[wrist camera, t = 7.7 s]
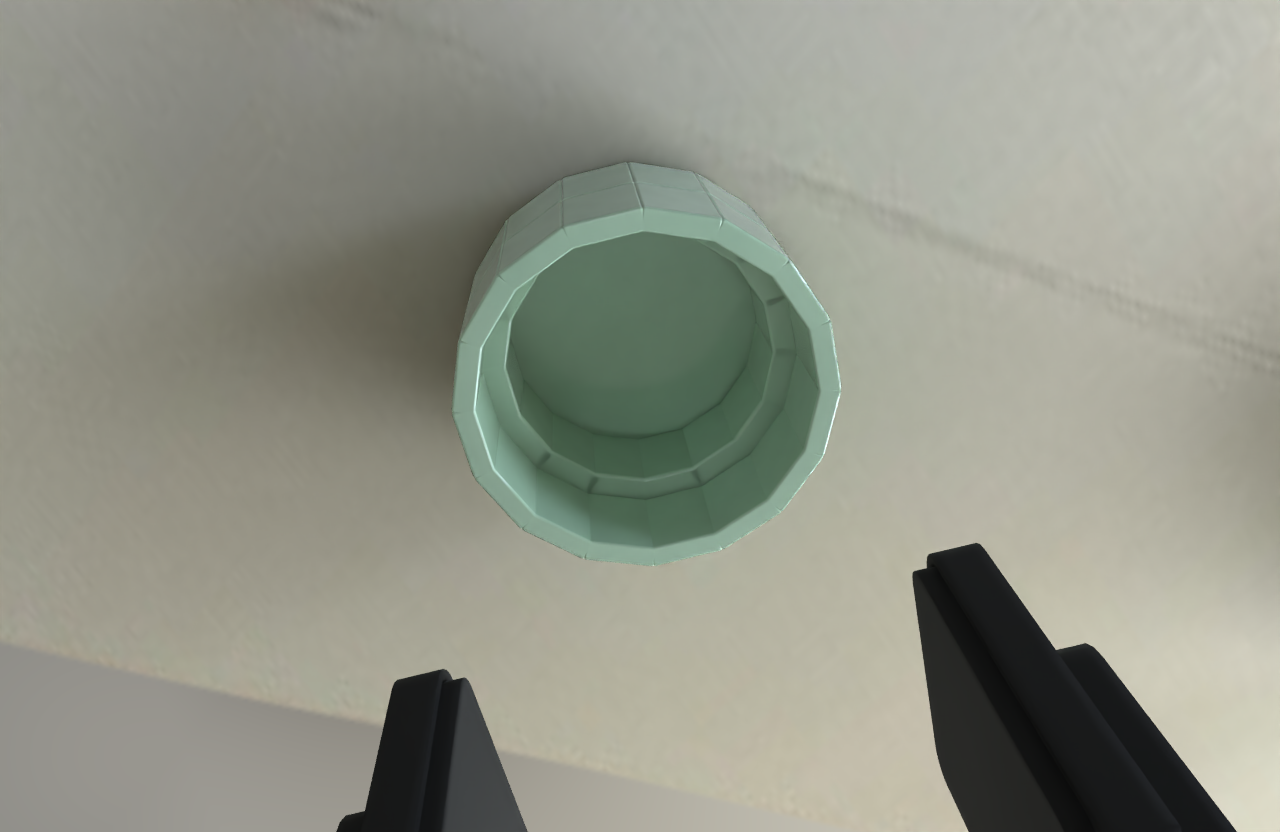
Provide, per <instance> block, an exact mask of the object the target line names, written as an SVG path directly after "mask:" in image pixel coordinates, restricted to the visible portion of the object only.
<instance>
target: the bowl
mask: <svg viewBox="0 0 1280 832" xmlns="http://www.w3.org/2000/svg"><path fill="white" fill-rule="evenodd" d="M840 394H841V380H840V374H839V368H838V361H837V355H836V349H835V343H834V336H833V330H832V324H831V321H830V320H829V316H828V314H827V313H826V311H825V310H824V309H823V307H822V306H821V304H820V303H819V301H818V300H817V298H816V297H815V295H814V294H813V292H812V291H811V289H810V288H809V286H808V285H807V283H806V282H805V280H804V279H803V277H802V276H801V274H800V273H799V271H798V270H797V268H796V267H795V265H794V264H793V262H792V261H791V260H790V258H789V257H788V256H787V254H786V253H785V252H784V250H783V249H782V248H781V246H780V245H779V243H778V242H777V241H776V239H775V238H774V237H773V235H772V234H771V233H770V231H769V230H768V229H767V227H766V226H765V225H764V223H763V222H762V221H761V219H760V218H759V217H758V215H757V214H756V213H755V211H754V210H753V209H751V207H750V206H749V205H748V204H746V203H744V202H743V201H741V200H740V199H738V198H736V197H735V196H733V195H732V194H730V193H728V192H727V191H725V190H724V189H722V188H720V187H719V186H717V185H716V184H714V183H712V182H711V181H709V180H708V179H706V178H704V177H703V176H701V175H700V174H697V173H696V174H695V173H694V172H692V171H686V170H679V169H673V168H666V167H660V166H653V165H647V164H640V163H634V162H630V163H627V162H624V163H620V164H616V165H612V166H608V167H604V168H600V169H596V170H592V171H588V172H584V173H580V174H576V175H572V176H568V177H564V178H563V179H562V180H558V181H557V182H555V183H554V184H553V185H551V186H550V187H549V188H547V189H546V190H545V191H543V192H542V193H541V194H539V195H538V196H537V197H535V198H534V199H533V200H531V201H530V202H529V203H527V204H526V205H525V206H523V207H522V208H521V209H519V210H518V211H517V212H515V213H514V214H513V215H511V216H510V217H509V218H508V220H506V221H505V223H504V224H503V226H502V228H501V230H500V231H499V233H498V235H497V237H496V238H495V240H494V242H493V244H492V245H491V247H490V249H489V251H488V252H487V254H486V256H485V258H484V259H483V261H482V263H481V265H480V266H479V268H478V270H477V272H476V273H475V277H474V280H473V284H472V288H471V292H470V296H469V300H468V304H467V308H466V312H465V316H464V320H463V324H462V328H461V332H460V336H459V340H458V345H457V356H456V366H455V376H454V386H453V397H452V407H451V410H452V417H453V419H454V422H455V425H456V428H457V431H458V434H459V437H460V440H461V442H462V445H463V448H464V451H465V454H466V457H467V460H468V463H469V466H470V468H471V471H472V474H473V476H474V477H475V479H476V481H477V482H478V483H479V484H480V485H481V486H482V487H483V488H484V490H485V491H486V492H487V493H488V494H489V495H490V496H491V497H492V498H493V499H494V500H495V501H496V503H497V504H498V505H499V506H500V507H501V508H502V509H503V510H504V511H505V512H506V513H507V514H508V516H509V517H510V518H511V519H512V520H513V521H514V522H515V523H516V524H517V525H518V526H519V527H520V528H522V529H523V530H524V531H526V532H528V533H530V534H532V535H534V536H536V537H538V538H540V539H542V540H545V541H547V542H549V543H551V544H553V545H555V546H557V547H559V548H561V549H563V550H565V551H567V552H570V553H572V554H574V555H576V556H578V557H580V558H584V559H586V560H596V561H606V562H616V563H626V564H636V565H646V566H653V565H655V566H657V565H661V564H666V563H670V562H674V561H678V560H682V559H687V558H691V557H695V556H699V555H703V554H708V553H712V552H716V551H720V550H721V549H725V548H726V547H728V546H729V545H731V544H733V543H734V542H736V541H737V540H739V539H740V538H742V537H744V536H745V535H747V534H748V533H750V532H751V531H753V530H754V529H756V528H758V527H759V526H761V525H762V524H764V523H765V522H767V521H769V520H770V519H772V518H773V517H775V516H776V515H778V514H779V513H780V512H781V511H783V510H784V508H785V507H786V506H787V504H788V503H789V502H790V501H791V499H792V498H793V497H794V495H795V494H796V493H797V491H798V490H799V489H800V487H801V486H802V485H803V483H804V482H805V481H806V479H807V478H808V477H809V475H810V474H811V473H812V471H813V470H814V469H815V467H816V466H817V465H818V463H819V462H820V461H821V459H822V458H823V455H824V454H825V450H826V446H827V443H828V439H829V435H830V431H831V428H832V424H833V420H834V416H835V413H836V409H837V405H838V401H839V398H840Z"/></svg>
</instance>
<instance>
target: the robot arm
mask: <svg viewBox="0 0 1280 832" xmlns="http://www.w3.org/2000/svg"><path fill="white" fill-rule="evenodd" d="M912 578H913V587H914V594H915V601H916V609H917V616H918V623H919V630H920V637H921V645H922V652H923V659H924V666H925V673H926V680H927V688H928V695H929V702H930V709H931V716H932V724H933V731H934V738H935V745H936V751H937V756H938V760H939V764H940V767H941V770H942V773H943V776H944V779H945V781H946V783H947V786H948V788H949V790H950V792H951V794H952V797H953V799H954V801H955V803H956V805H957V807H958V809H959V812H960V814H961V816H962V818H963V820H964V822H965V825H966V827H967V829H968V831H969V832H1237V831H1236V830H1235V829H1234V827H1233V826H1232V825H1231V823H1230V822H1229V821H1228V820H1227V818H1226V817H1225V816H1224V814H1223V813H1222V812H1221V810H1220V809H1219V808H1218V807H1217V805H1216V804H1215V803H1214V801H1213V800H1212V799H1211V797H1210V796H1209V795H1208V793H1207V792H1206V791H1205V790H1204V788H1203V787H1202V786H1201V784H1200V783H1199V782H1198V780H1197V779H1196V778H1195V777H1194V775H1193V774H1192V773H1191V771H1190V770H1189V769H1188V767H1187V766H1186V765H1185V763H1184V762H1183V761H1182V760H1181V758H1180V757H1179V756H1178V754H1177V753H1176V752H1175V750H1174V749H1173V748H1172V747H1171V745H1170V744H1169V743H1168V741H1167V740H1166V739H1165V737H1164V736H1163V735H1162V733H1161V732H1160V731H1159V730H1158V728H1157V727H1156V726H1155V724H1154V723H1153V722H1152V720H1151V719H1150V718H1149V717H1148V715H1147V714H1146V713H1145V711H1144V710H1143V709H1142V707H1141V706H1140V705H1139V703H1138V702H1137V701H1136V700H1135V698H1134V697H1133V696H1132V694H1131V693H1130V692H1129V690H1128V689H1127V688H1126V687H1125V685H1124V684H1123V683H1122V681H1121V680H1120V679H1119V677H1118V676H1117V675H1116V673H1115V672H1114V671H1113V670H1112V668H1111V667H1110V666H1109V664H1108V663H1107V662H1106V660H1105V659H1104V658H1103V657H1102V656H1101V654H1100V653H1099V652H1098V651H1097V650H1096V649H1095V648H1094V647H1092V646H1090V645H1088V644H1086V643H1085V644H1081V645H1076V646H1072V647H1068V648H1063V649H1059V650H1055V648H1054V647H1053V645H1052V644H1051V642H1050V641H1049V640H1048V638H1047V637H1046V635H1045V634H1044V633H1043V631H1042V630H1041V628H1040V627H1039V626H1038V624H1037V623H1036V621H1035V620H1034V618H1033V617H1032V616H1031V614H1030V613H1029V611H1028V610H1027V609H1026V607H1025V606H1024V604H1023V603H1022V601H1021V600H1020V599H1019V597H1018V596H1017V594H1016V593H1015V592H1014V590H1013V589H1012V587H1011V586H1010V585H1009V583H1008V582H1007V580H1006V579H1005V577H1004V576H1003V575H1002V573H1001V572H1000V570H999V569H998V568H997V566H996V565H995V563H994V562H993V561H992V559H991V558H990V556H989V555H988V553H987V552H986V551H985V549H984V548H983V547H982V546H981V545H980V544H978V543H974V544H970V545H966V546H961V547H957V548H953V549H949V550H944V551H940V552H936V553H932V554H929V555H928V556H927V568H926V569H922V570H917V571H914V572H913V576H912ZM336 832H527V829H526V826H525V824H524V822H523V819H522V817H521V814H520V811H519V809H518V806H517V803H516V801H515V798H514V796H513V793H512V790H511V788H510V785H509V783H508V780H507V777H506V775H505V772H504V770H503V767H502V764H501V762H500V760H499V757H498V754H497V752H496V749H495V746H494V744H493V741H492V739H491V736H490V734H489V731H488V728H487V726H486V723H485V721H484V718H483V715H482V713H481V710H480V708H479V705H478V703H477V700H476V697H475V695H474V692H473V690H472V687H471V685H470V683H469V681H468V680H467V679H466V678H460V679H456V680H453V679H452V677H451V675H450V674H449V672H448V671H447V670H445V669H441V670H437V671H433V672H429V673H425V674H420V675H416V676H412V677H408V678H403V679H399V680H397V681H396V682H395V683H394V685H393V688H392V691H391V696H390V700H389V705H388V709H387V714H386V718H385V723H384V728H383V732H382V737H381V741H380V746H379V750H378V755H377V759H376V764H375V768H374V773H373V777H372V782H371V786H370V791H369V795H368V800H367V804H366V809H365V811H364V812H359V813H355V814H351V815H346V816H345V817H344V818H343V819H342V821H341V822H340V824H339V826H338V829H337V831H336Z"/></svg>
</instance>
